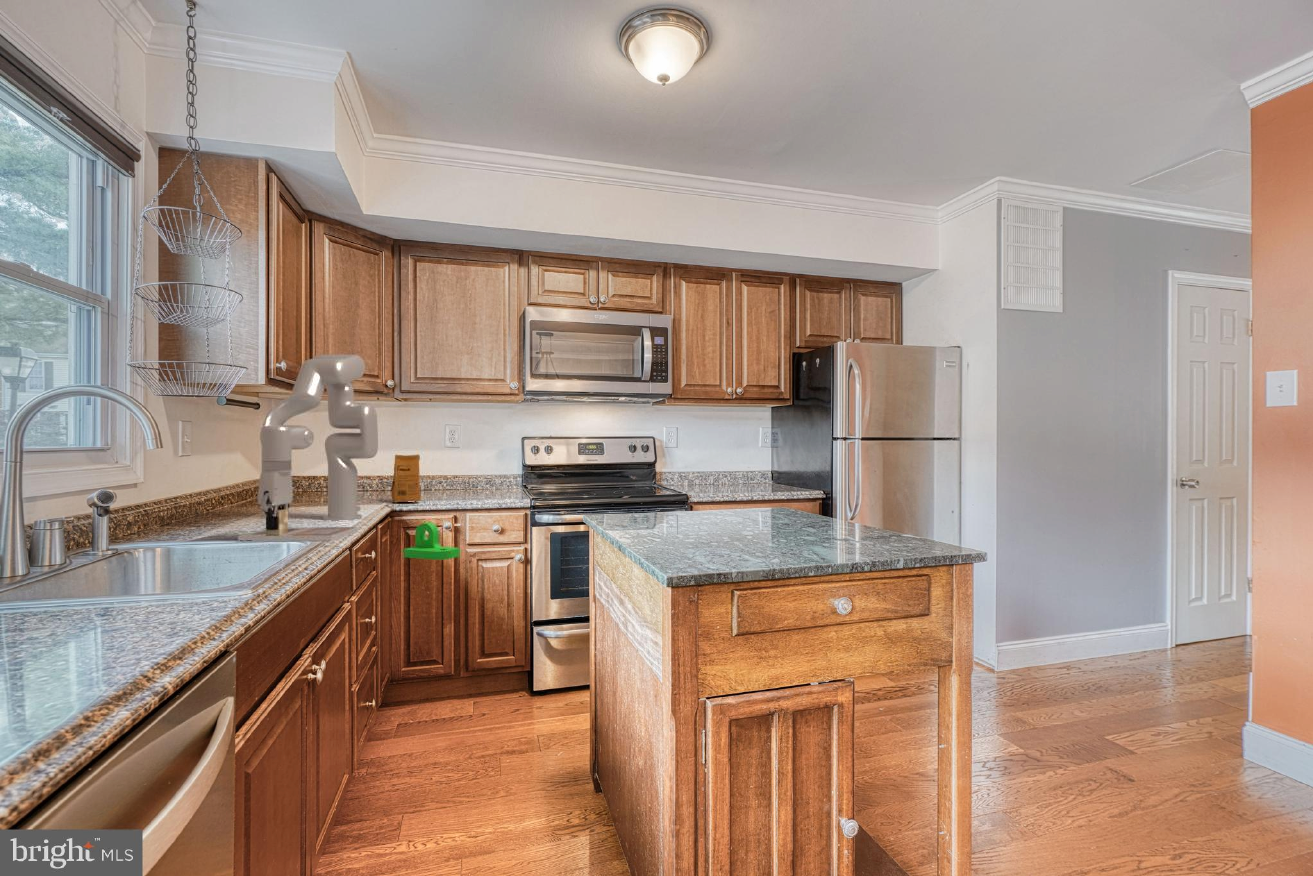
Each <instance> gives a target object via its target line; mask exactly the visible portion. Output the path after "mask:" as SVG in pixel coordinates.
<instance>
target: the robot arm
mask: <svg viewBox="0 0 1313 876" xmlns="http://www.w3.org/2000/svg"><path fill="white" fill-rule="evenodd" d="M365 372H366V364H365V361H364V359H363V358H362V357H361V356H359V355H358V354H334V353H333V354H330V353H329V354H328V353H327V354H319V355H316V356H314V357H312V358H310V359H307V360H305V361H304V362H303V363H302V365H301V367H300V369H299V372H298V374H297V378H296V380H295V382H294V385H293V387H292V391H291V393H290V395H288V396H287V397H286V398H284V399H283V400H281V401H279V403H277V404H276V405H275V406H273V408H271V409H270V411H269V412H268V413H267V414H266V415H265V418H264V421H263V424H262V426H261V428H260V432H259V440H260V444H261V473H260V476H259V480H258V481H259V482H258V493H257V504H258V505H259V506H260V507H259V508H260V510H262V511H263V513H264V516H265V529H266V530H277V529H278V516H276V515H277V510H288V514H289V509H290V507H291V505H292V504H293V497H294V495H293V493H294V491H293V490H294V487H293V477H292V450H295V451H296V450H297V451H298V450H304V449H305V450H306V449H308V448H309V447H310V446H312V444H313V442H314V439H315V437H314V432H313V431H312V430H311V429H310V428H309V427H308V426H305V425H298V424H297V425H295V424H294V425H292V424H289V425H288V424H285V423H286V422H287V421H288V420H290V419H292V418H293V417H295V416H298V415H300V414H303V413H307V412H308V411H311V410H314V409H315V408H317V407H318V406H319V405H320V403H321V400H322V398H323V394H324V392H325V389H326V395H327V413H328V422H329V425H330V427H332V428H334V429H340V430H346V429H347V430H359V432H334V433H330V434H329V435H328V436H327V437H326V439H325V440H324V448H325V449H324V451H325V454H326V460H327V515H325V516H323V518H322V520H323V521H326V520H331V521H330V522H340V521H339V520H348V521H355V520H354V519H357V520H360V518H361V519H362V518H363V515H362V514H359V513H358V512H359V511H361V506H359V505H358V469H357V466H356V465H355V463H354V462H353V461H352V460H354V459H356V460H359V459H362V460H363V459H366V460H367V459H368V460H369V459H372V458H374V457H376V455H377V453H378V449H379V436H378V435H379V434H378V431H379V430H378V428H379V427H378V414H377V410H376V409H375V407H374V406H373V405H372V404H370V403H367V402H356V401H355V392H354V387H353V385H352V384H351V382H355V381H356V380H359V379H360V378H362V377H363V375H364V374H365Z"/></svg>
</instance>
